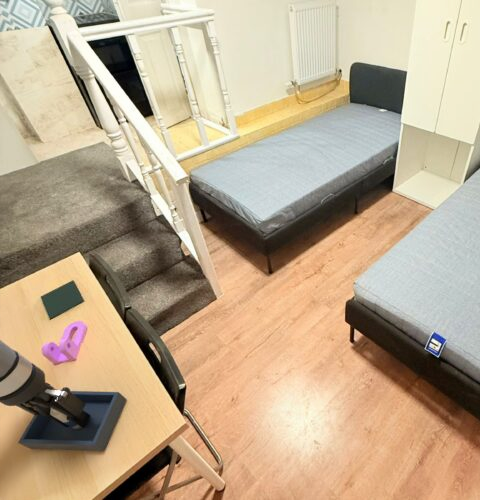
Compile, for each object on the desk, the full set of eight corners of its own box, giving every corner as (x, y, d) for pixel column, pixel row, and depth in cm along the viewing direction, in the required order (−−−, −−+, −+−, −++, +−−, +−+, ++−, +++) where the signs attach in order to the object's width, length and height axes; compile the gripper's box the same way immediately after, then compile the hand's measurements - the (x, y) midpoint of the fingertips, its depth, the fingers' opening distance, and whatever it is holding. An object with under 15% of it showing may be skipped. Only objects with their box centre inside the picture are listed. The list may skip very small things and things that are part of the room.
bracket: (77, 360, 93) (62, 348, 88) (55, 365, 92) (39, 352, 87) (89, 321, 102) (76, 308, 97) (69, 325, 101) (55, 312, 96)
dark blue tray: (32, 449, 77) (17, 443, 74) (61, 398, 86) (49, 390, 82) (105, 451, 77) (94, 445, 73) (127, 400, 85) (118, 391, 81)
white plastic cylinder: (69, 428, 80) (43, 413, 72) (78, 414, 82) (53, 397, 75) (81, 430, 79) (56, 415, 72) (90, 416, 82) (66, 399, 74)
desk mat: (41, 297, 110) (40, 296, 109) (73, 281, 114) (73, 280, 114) (50, 319, 103) (49, 318, 103) (84, 301, 108) (83, 300, 107)
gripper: (-46, 398, 61) (35, 437, 78) (40, 400, 60) (103, 439, 77) (-15, 359, 67) (54, 404, 83) (64, 361, 66) (118, 405, 82)
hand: (78, 421), depth 80 cm, fingers closed on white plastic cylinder, 3 cm apart
